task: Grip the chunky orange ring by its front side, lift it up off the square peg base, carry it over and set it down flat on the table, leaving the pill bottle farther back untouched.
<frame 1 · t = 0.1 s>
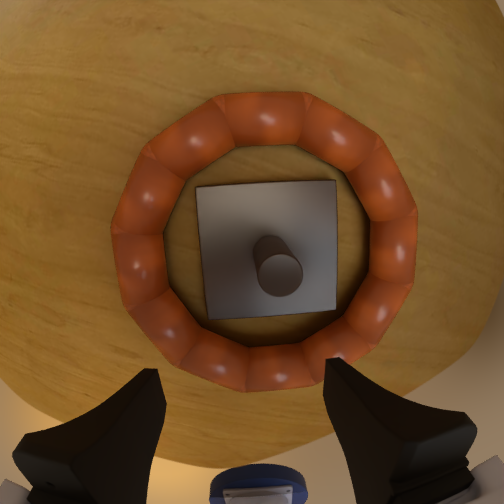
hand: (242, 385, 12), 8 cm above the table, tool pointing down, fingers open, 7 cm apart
square peg base: (269, 248, 19), on the table
ring: (271, 254, 17), point 1 cm above the table
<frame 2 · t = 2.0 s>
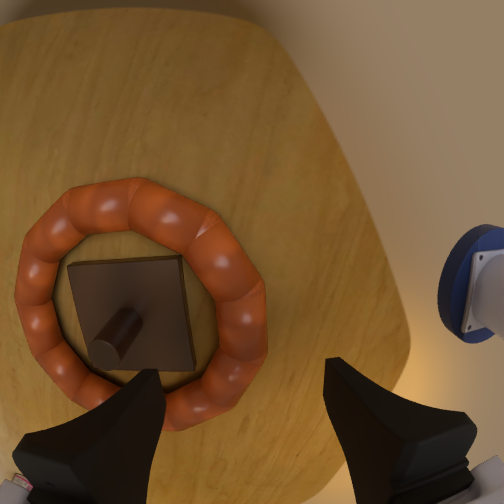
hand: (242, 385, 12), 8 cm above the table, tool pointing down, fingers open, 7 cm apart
pill bottle: (28, 482, 26), on the table
square peg base: (132, 315, 20), on the table
ring: (125, 324, 18), point 1 cm above the table
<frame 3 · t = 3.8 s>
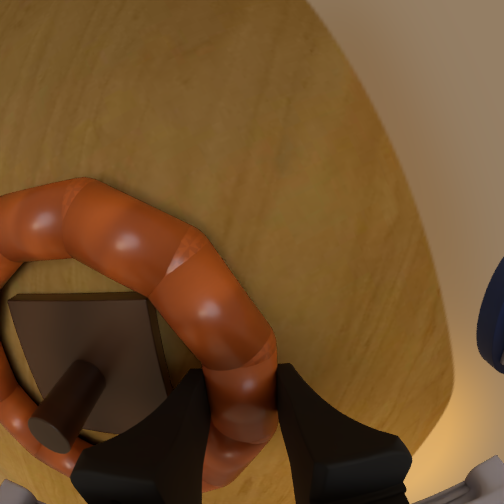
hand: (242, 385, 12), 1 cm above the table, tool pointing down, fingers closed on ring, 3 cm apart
square peg base: (95, 366, 13), on the table
ring: (83, 382, 12), point 1 cm above the table, touching gripper
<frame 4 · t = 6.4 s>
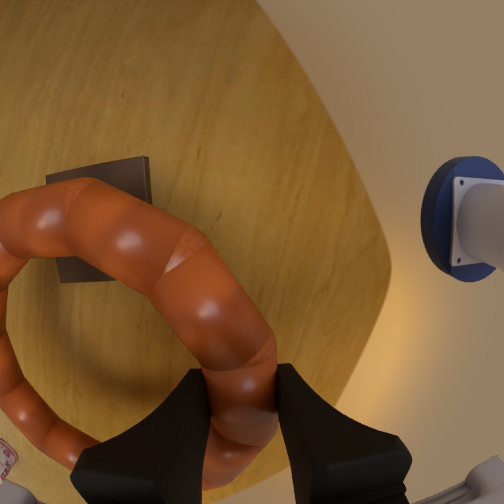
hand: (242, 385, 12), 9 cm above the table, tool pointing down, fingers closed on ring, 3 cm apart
pill bottle: (6, 447, 26), on the table
square peg base: (101, 222, 20), on the table
ring: (86, 378, 12), point 9 cm above the table, touching gripper
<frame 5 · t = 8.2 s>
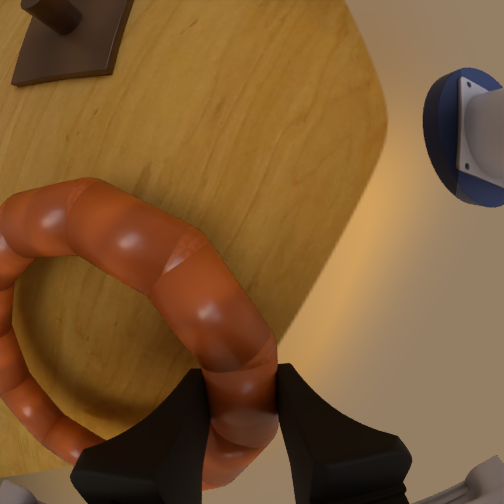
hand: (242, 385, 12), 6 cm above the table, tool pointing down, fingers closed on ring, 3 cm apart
square peg base: (75, 27, 13), on the table
ring: (89, 375, 13), point 6 cm above the table, tilted 6°, touching gripper
when the fingers open (2 cm above the table, at t = 9.4 s): ring stays where it is, point 1 cm above the table.
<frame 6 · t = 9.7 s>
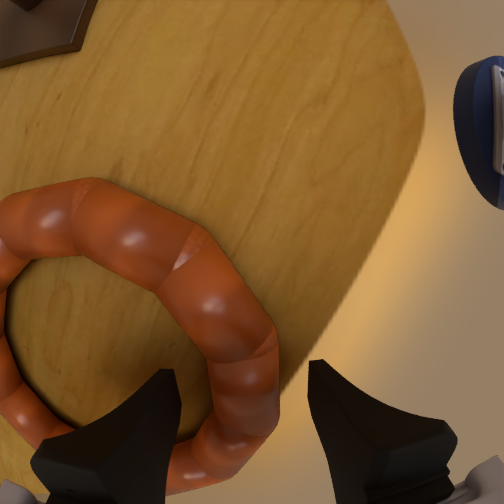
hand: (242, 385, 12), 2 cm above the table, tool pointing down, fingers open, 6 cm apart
square peg base: (44, 2, 9), on the table
ring: (89, 377, 12), point 1 cm above the table
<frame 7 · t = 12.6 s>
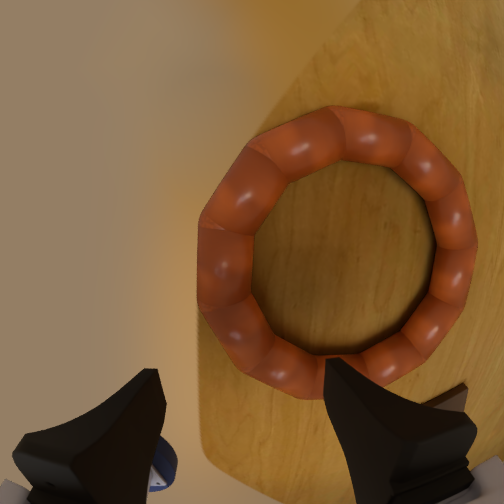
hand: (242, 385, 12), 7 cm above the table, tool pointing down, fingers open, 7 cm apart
square peg base: (426, 426, 23), on the table
ring: (356, 268, 17), point 1 cm above the table
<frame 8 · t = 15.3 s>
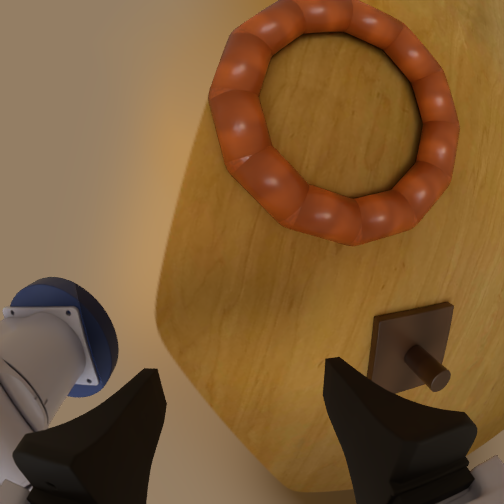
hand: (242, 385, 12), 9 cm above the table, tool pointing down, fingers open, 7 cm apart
square peg base: (407, 349, 24), on the table
ring: (352, 106, 18), point 1 cm above the table
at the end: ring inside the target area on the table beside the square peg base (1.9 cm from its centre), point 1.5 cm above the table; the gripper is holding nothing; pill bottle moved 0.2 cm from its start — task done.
